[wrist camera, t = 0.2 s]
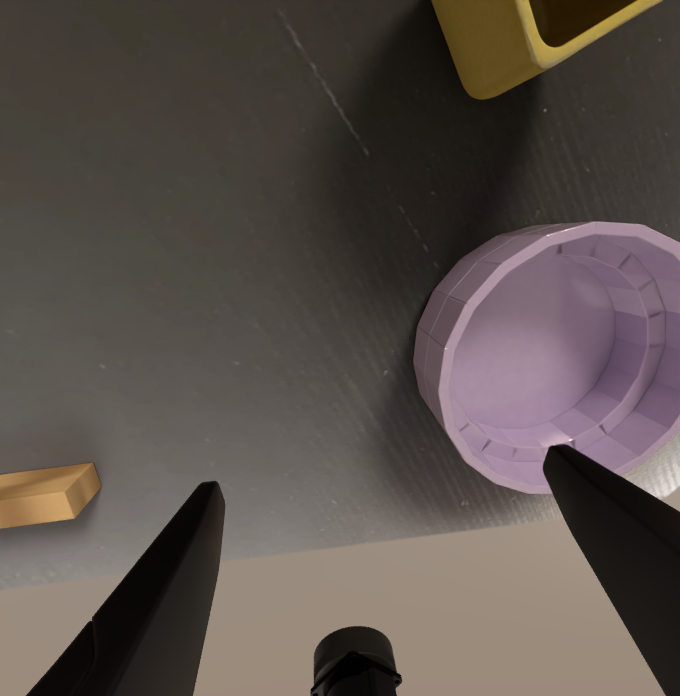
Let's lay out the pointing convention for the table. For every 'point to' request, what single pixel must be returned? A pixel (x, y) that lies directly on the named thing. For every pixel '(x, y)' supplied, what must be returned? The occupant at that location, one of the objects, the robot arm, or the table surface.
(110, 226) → the table surface
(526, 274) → the bowl
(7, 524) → the fork
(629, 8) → the flower pot
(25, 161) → the table surface
